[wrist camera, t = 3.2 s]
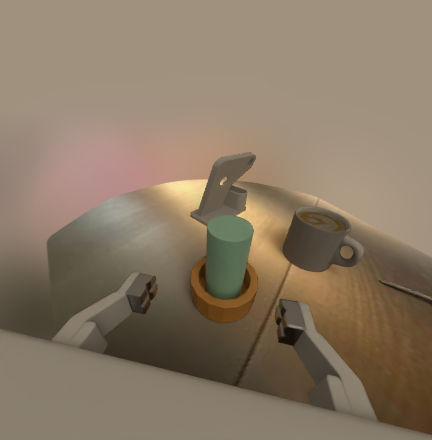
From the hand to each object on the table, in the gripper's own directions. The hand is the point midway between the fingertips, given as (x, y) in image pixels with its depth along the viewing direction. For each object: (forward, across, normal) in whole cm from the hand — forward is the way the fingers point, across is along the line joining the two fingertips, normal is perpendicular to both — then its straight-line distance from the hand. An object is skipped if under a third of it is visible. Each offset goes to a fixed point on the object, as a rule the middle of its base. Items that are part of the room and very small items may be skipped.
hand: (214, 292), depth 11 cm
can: (+12, 0, -16) cm, 20 cm away
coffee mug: (+24, +19, -17) cm, 35 cm away
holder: (+12, 0, -16) cm, 20 cm away
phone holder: (+40, -4, -16) cm, 44 cm away
